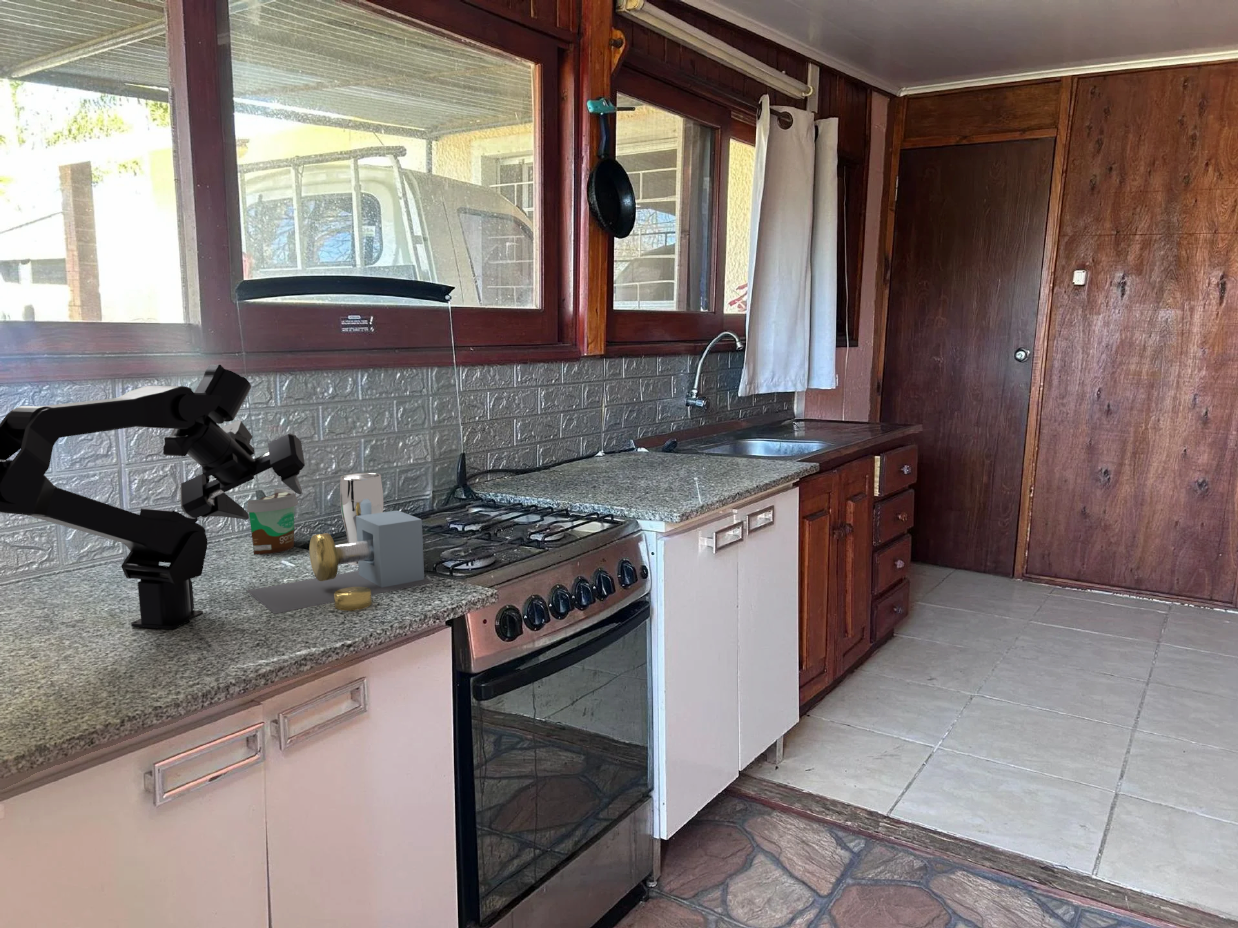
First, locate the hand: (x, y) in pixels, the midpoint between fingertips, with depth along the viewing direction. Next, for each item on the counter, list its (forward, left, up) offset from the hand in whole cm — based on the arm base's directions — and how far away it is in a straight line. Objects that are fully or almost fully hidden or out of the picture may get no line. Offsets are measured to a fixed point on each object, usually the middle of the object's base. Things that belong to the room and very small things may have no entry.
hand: (274, 504), depth 136 cm
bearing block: (+3, -18, -12) cm, 21 cm away
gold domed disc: (-11, -19, -12) cm, 25 cm away
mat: (-3, -12, -12) cm, 18 cm away
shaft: (0, -15, -10) cm, 18 cm away
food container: (+19, +11, -12) cm, 25 cm away
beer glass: (+12, -9, -12) cm, 19 cm away
